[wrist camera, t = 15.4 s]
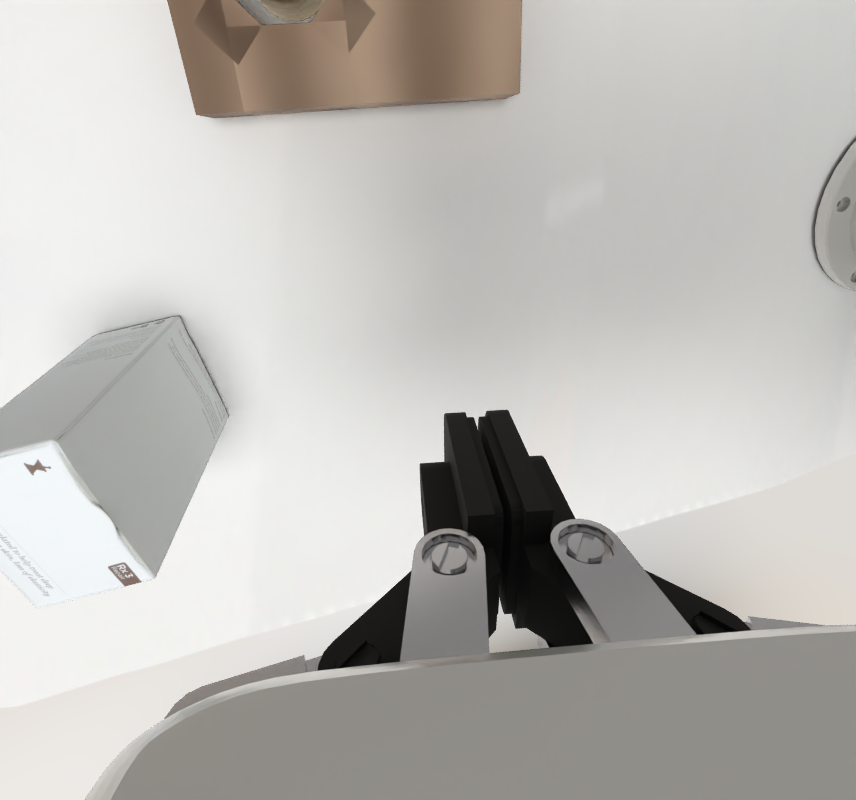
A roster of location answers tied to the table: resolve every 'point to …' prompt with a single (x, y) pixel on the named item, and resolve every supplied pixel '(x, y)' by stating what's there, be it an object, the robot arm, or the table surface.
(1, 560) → the skincare box
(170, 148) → the table surface
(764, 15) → the table surface
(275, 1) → the brass cylinder
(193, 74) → the jig
